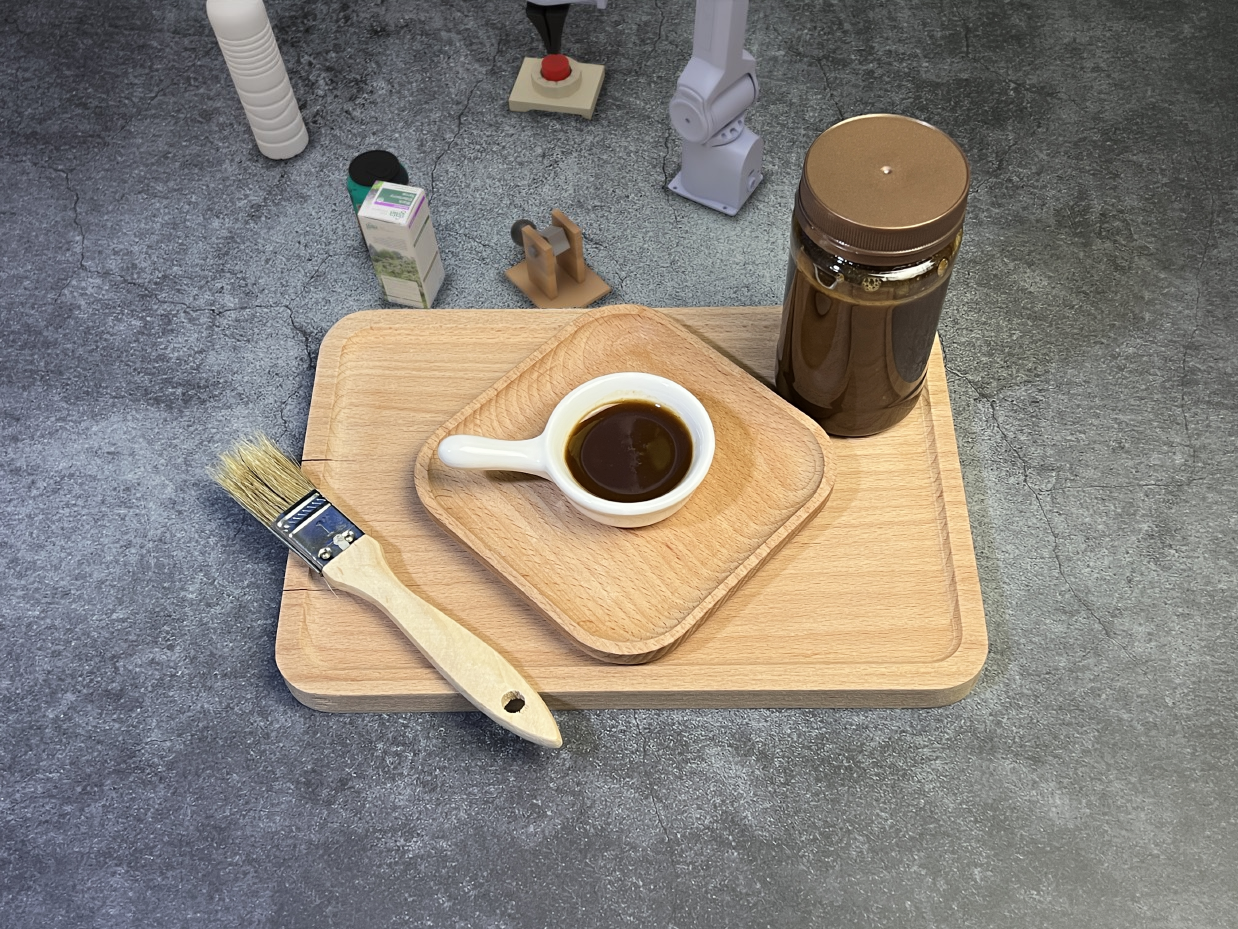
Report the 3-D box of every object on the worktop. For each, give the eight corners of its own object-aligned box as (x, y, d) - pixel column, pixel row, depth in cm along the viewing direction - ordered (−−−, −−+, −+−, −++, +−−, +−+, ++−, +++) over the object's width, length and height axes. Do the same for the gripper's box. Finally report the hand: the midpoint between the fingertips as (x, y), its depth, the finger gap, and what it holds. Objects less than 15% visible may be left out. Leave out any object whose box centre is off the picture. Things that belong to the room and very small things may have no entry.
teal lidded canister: (389, 214, 136) (368, 137, 126) (435, 234, 134) (417, 158, 124) (354, 251, 133) (329, 175, 123) (400, 272, 131) (379, 196, 121)
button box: (604, 75, 149) (603, 53, 146) (590, 119, 145) (589, 97, 142) (526, 67, 151) (523, 45, 148) (509, 110, 146) (506, 88, 143)
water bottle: (296, 164, 141) (233, -13, 120) (250, 156, 143) (180, -21, 122) (324, 120, 146) (268, -58, 125) (279, 112, 147) (216, -65, 126)
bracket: (505, 278, 130) (495, 220, 122) (559, 246, 132) (553, 188, 124) (556, 328, 125) (549, 272, 117) (611, 294, 128) (608, 237, 120)
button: (572, 66, 146) (571, 55, 144) (566, 83, 144) (565, 72, 142) (546, 63, 146) (544, 52, 145) (539, 80, 144) (538, 69, 143)
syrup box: (447, 277, 130) (425, 184, 118) (429, 314, 127) (405, 223, 115) (402, 269, 131) (376, 176, 119) (384, 305, 128) (355, 214, 116)
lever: (511, 249, 130) (501, 225, 128) (533, 237, 131) (523, 212, 129) (552, 262, 122) (541, 236, 120) (575, 248, 123) (565, 222, 121)
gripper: (611, -64, 132) (615, 35, 143) (494, -74, 134) (507, 25, 145) (599, -29, 128) (604, 70, 139) (479, -40, 130) (493, 58, 141)
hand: (554, 49), depth 142 cm, fingers closed
